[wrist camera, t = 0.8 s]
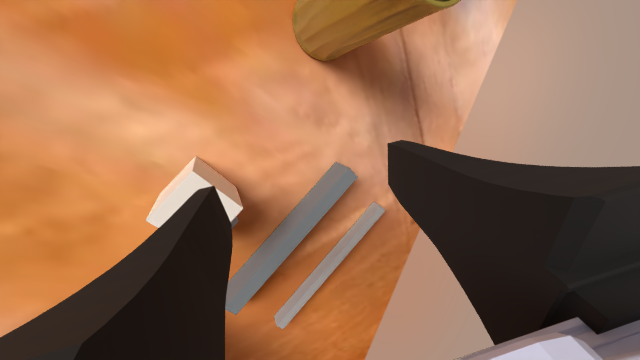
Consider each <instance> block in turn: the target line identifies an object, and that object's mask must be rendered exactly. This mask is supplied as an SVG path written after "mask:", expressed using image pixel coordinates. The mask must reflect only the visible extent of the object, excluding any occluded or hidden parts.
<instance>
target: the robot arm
mask: <svg viewBox="0 0 640 360" xmlns="http://www.w3.org/2000/svg"><path fill="white" fill-rule="evenodd" d="M388 184H389V186H390V188H391V190H392V191H393V193H394V195H395V196H396V198H397V199H398V201H399V202H400V204H401V205H402V206H403V207H404V209H405V210H406V211H407V212H408V213H409V215H410V216H411V217H412V218H413V219H414V221H415V222H416V223H417V224H418V225H419V227H420V228H421V229H422V230H423V231H424V233H425V234H426V235H427V236H428V237H429V239H430V240H431V241H432V242H433V244H434V245H435V246H436V248H437V249H438V251H439V252H440V254H441V255H442V257H443V258H444V260H445V261H446V263H447V264H448V266H449V267H450V269H451V270H452V272H453V274H454V275H455V277H456V278H457V280H458V282H459V283H460V285H461V286H462V288H463V290H464V291H465V293H466V295H467V296H468V298H469V300H470V302H471V303H472V305H473V307H474V308H475V310H476V312H477V314H478V315H479V317H480V319H481V321H482V323H483V324H484V326H485V328H486V330H487V332H488V334H489V335H490V337H491V339H492V341H493V343H494V345H495V346H492V347H490V348H486V349H483V350H481V351H478V352H475V353H472V354H469V355H466V356H463V357H460V358H457V359H454V360H640V166H635V167H634V166H632V167H554V166H538V165H526V164H516V163H507V162H500V161H493V160H486V159H481V158H475V157H470V156H466V155H461V154H456V153H453V152H449V151H445V150H441V149H437V148H433V147H430V146H426V145H422V144H418V143H414V142H410V141H404V140H400V141H396V142H392V143H388ZM231 254H232V224H231V222H230V220H229V217H228V215H227V213H226V211H225V208H224V206H223V204H222V202H221V199H220V197H219V195H218V192H217V190H216V188H215V186H210V187H206V188H202V189H198V190H197V191H196V192H195V193H194V194H193V195H192V196H191V197H189V198H188V199H187V201H186V202H185V203H184V204H183V205H182V206H181V207H180V208H179V209H178V210H177V211H176V212H175V213H174V214H173V215H172V216H171V217H170V218H169V219H168V220H167V221H166V222H165V223H164V224H163V225H162V226H160V227H159V228H158V229H157V230H156V231H155V232H154V233H153V234H152V235H151V236H150V237H149V238H148V239H147V240H145V241H144V242H143V243H142V244H141V245H140V246H138V247H137V248H136V249H135V250H134V251H133V252H131V253H130V254H129V255H127V256H126V257H125V258H124V259H122V260H121V261H120V262H119V263H117V264H116V265H115V266H113V267H112V268H111V269H109V270H108V271H106V272H105V273H103V274H102V275H101V276H99V277H98V278H96V279H95V280H93V281H92V282H91V283H89V284H88V285H86V286H85V287H83V288H82V289H81V290H79V291H78V292H76V293H75V294H73V295H71V296H70V297H68V298H67V299H65V300H64V301H62V302H60V303H59V304H57V305H56V306H54V307H52V308H51V309H49V310H47V311H46V312H44V313H42V314H41V315H39V316H37V317H36V318H34V319H32V320H31V321H29V322H27V323H26V324H24V325H22V326H20V327H19V328H17V329H15V330H13V331H11V332H10V333H8V334H6V335H4V336H2V337H0V360H225V305H226V294H227V286H228V278H229V271H230V263H231Z"/></svg>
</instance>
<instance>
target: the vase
mask: <svg viewBox="0 0 640 360" xmlns="http://www.w3.org/2000/svg"><path fill="white" fill-rule="evenodd" d="M459 1H461V0H298V1H297V3H296V5H295V7H294V11H293V29H294V33H295V36H296V39H297V41H298V43H299V44H300V46H301V47H302V48H303V50H304V51H305V52H306V53H307V54H309V55H310V56H312V57H314V58H316V59H318V60H323V61H328V60H333V59H336V58H338V57H340V56H341V55H343V54H345V53H347V52H349V51H351V50H353V49H355V48H357V47H360V46H362V45H364V44H366V43H369V42H371V41H373V40H375V39H377V38H379V37H382V36H384V35H386V34H388V33H391V32H393V31H395V30H397V29H399V28H402V27H404V26H406V25H408V24H411V23H413V22H415V21H418V20H420V19H422V18H424V17H426V16H429V15H431V14H433V13H436V12H438V11H441V10H443V9H446V8H449V7H452V6H454V5H456V4H457V3H458V2H459Z"/></svg>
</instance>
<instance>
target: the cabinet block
mask: <svg viewBox="0 0 640 360" xmlns="http://www.w3.org/2000/svg"><path fill="white" fill-rule="evenodd" d="M210 186H215V188H216V190H217V192H218V195H219V197H220V199H221V202H222V204H223V206H224V208H225V211H226V213H227V215H228V217H229V220H230V222H231V224H232V228H233V227H234V226H235V225H236V224H237V223H238V222H239V220H238V216H237V215H238V214H239V212H240V211H241V210H242V209H243V206H242V203H241V200H240V197H239V194H238V191H237V188H236V186H234V185H233V184H232V183H231V182H229V181H228V180H227V179H225V178H224V177H223V176H221V175H220V174H219V173H218V172H216V171H215V170H214V169H212V168H211V167H210V166H209V165H207V164H206V163H205V162H203V161H202V160H201V159H199V158H198V157H197V156H195V157H194V158H193V159H192V160H191V162H190V163H189V164H188V165H187V166H186V167H185V168H184V169H183V170H182V171H181V172H180V173H179V174H178V175H177V176H176V177H175V178H174V179H173V180H172V182H171V183H170V184H169V185H168V186H167V187H166V188H165V189H164V190H163V191H162V192H161V193H160V195H159V196H158V198H157V200H156V202H155V204H154V206H153V208H152V209H151V211H150V213H149V215H148V217H147V219H146V221H147V222H149V223H151V224H153V225H154V226H156V227H158V228H159V227H160V226H162V225H163V224H164V223H165V222H166V221H167V220H168V219H169V218H170V217H171V216H172V215H173V214H174V213H175V212H176V211H177V210H178V209H179V208H180V207H181V206H182V205H183V204H184V203H185V202H186V201H187V199H188V198H189V197H191V196H192V195H193V194H194V193H195V192H196V191H197V190H198V189H202V188H206V187H210Z"/></svg>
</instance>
